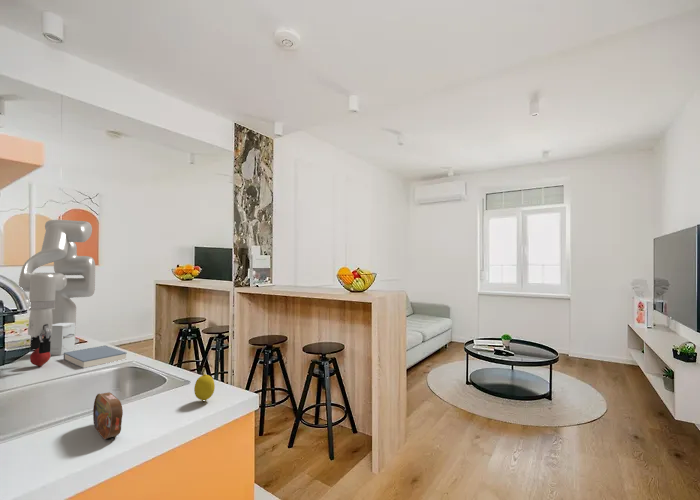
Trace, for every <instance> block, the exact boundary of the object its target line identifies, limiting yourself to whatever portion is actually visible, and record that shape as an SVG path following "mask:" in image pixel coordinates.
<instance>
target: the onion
mask: <svg viewBox="0 0 700 500" xmlns="http://www.w3.org/2000/svg"><path fill="white" fill-rule="evenodd" d="M51 356H52V355H50V352H47V353H41V354H40V353H39V348H37V349H35V350H32V352H31V354H30V356H29V361H30V362H31V364H32V365H34V366H36V367H39V368H41V367H42V366H44V365H45V364H46V363H48V362H49V361H50V359H51Z"/></svg>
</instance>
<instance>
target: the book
mask: <svg viewBox="0 0 700 500" xmlns="http://www.w3.org/2000/svg"><path fill="white" fill-rule="evenodd" d="M125 358H126V359H127V352H126V351H123V350H121V349H117V348H114V347H112V346H108V345H100V346H93V347H89V348H82V349H78V350H77V349H76V350H74V351H71V352H65V353H64V354H63V360H64V361H66V362H68V363H71V364H73V365H74V366H77V367H78V368H79V367H80V368H81V369H87V368H93V367H96V366H102V365H106V363H107V364H110V362H111V363H115V362H114V361H116V362H119V361H118V360H121V361H123V360H122V359H125ZM126 359H125V360H126Z"/></svg>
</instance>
